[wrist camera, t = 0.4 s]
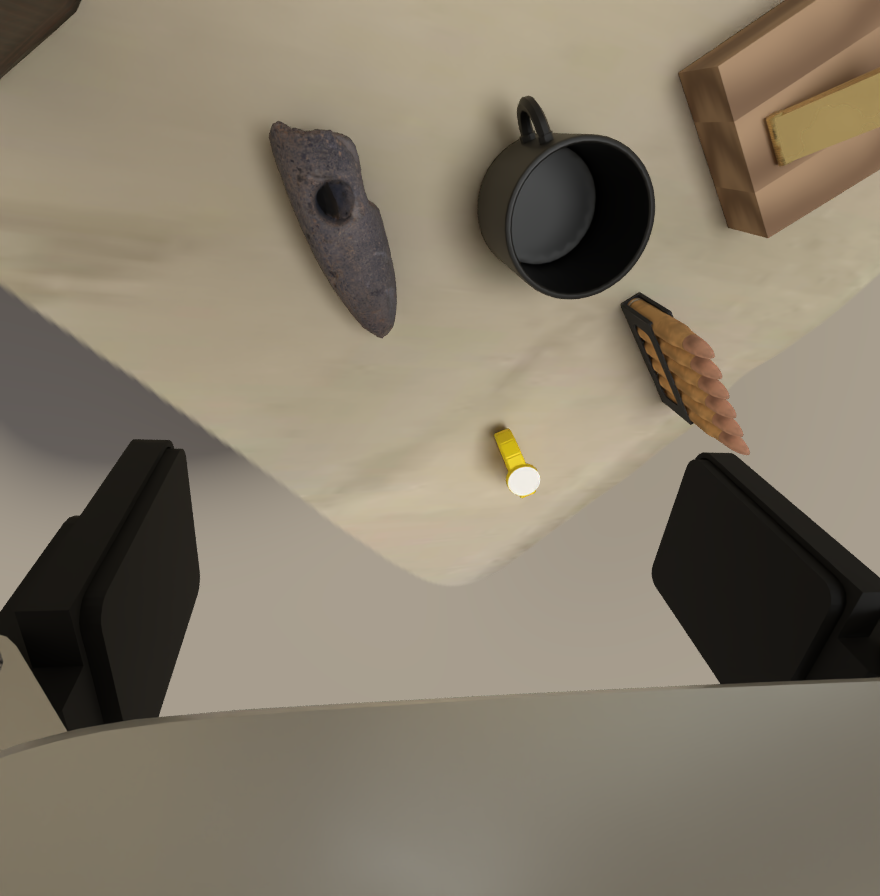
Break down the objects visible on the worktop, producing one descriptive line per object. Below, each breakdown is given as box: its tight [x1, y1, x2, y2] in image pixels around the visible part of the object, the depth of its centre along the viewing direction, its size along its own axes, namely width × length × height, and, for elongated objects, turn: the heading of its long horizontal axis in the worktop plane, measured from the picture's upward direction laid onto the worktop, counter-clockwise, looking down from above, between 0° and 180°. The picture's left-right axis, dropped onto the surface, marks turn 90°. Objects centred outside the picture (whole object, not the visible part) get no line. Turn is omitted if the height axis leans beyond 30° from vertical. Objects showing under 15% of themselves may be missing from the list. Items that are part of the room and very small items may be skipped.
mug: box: [478, 96, 655, 299], centre depth 39 cm, size 9×12×9 cm
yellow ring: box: [494, 428, 540, 498], centre depth 50 cm, size 6×3×6 cm, turn 22°
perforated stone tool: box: [269, 121, 397, 338], centre depth 39 cm, size 15×5×7 cm, turn 16°
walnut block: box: [678, 0, 880, 238], centre depth 39 cm, size 12×22×5 cm, turn 122°
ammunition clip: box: [621, 293, 750, 455], centre depth 45 cm, size 11×2×12 cm, turn 31°
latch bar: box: [766, 67, 880, 166], centre depth 36 cm, size 3×8×1 cm
